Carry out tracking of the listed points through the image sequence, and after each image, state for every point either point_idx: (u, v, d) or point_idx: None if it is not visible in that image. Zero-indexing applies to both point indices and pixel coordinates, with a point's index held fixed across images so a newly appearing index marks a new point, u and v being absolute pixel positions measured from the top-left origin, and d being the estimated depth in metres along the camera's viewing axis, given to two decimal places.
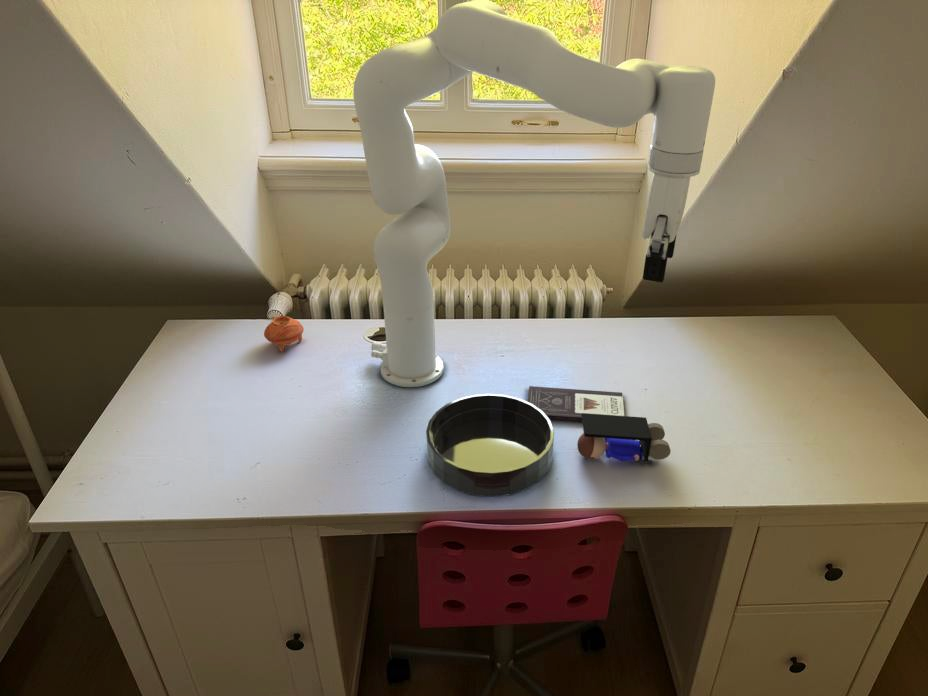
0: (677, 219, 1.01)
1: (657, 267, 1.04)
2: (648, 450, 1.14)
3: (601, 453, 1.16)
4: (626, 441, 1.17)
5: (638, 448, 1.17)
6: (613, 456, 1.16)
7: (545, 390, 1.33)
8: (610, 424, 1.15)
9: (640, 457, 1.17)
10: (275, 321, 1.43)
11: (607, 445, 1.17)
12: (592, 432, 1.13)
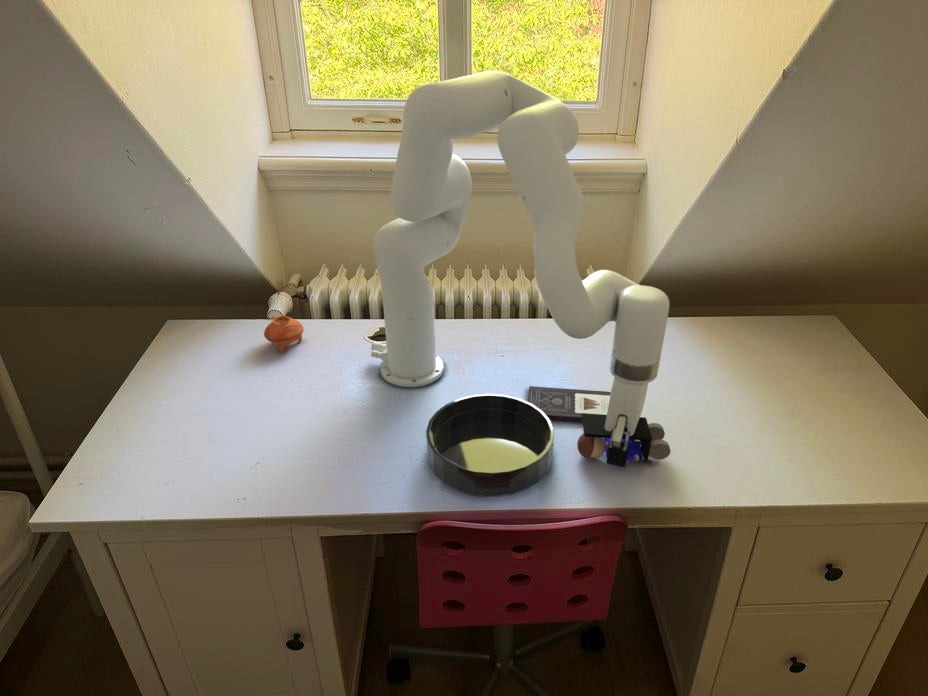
0: (636, 418, 1.09)
1: (619, 456, 1.13)
2: (648, 450, 1.14)
3: (601, 453, 1.16)
4: None
5: (638, 448, 1.17)
6: None
7: (545, 390, 1.33)
8: None
9: (640, 457, 1.17)
10: (275, 321, 1.43)
11: (607, 445, 1.17)
12: (592, 432, 1.13)
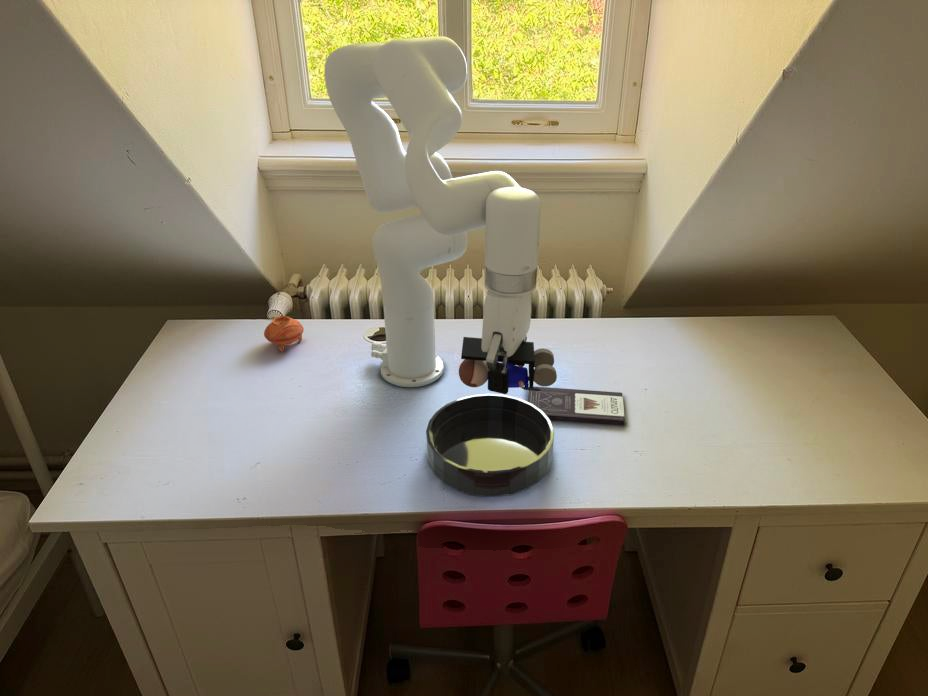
0: (513, 336, 1.00)
1: (499, 381, 1.04)
2: (532, 375, 1.05)
3: (483, 379, 1.07)
4: (511, 367, 1.08)
5: (523, 374, 1.08)
6: None
7: (545, 390, 1.33)
8: None
9: (526, 384, 1.08)
10: (275, 321, 1.43)
11: None
12: (470, 354, 1.04)
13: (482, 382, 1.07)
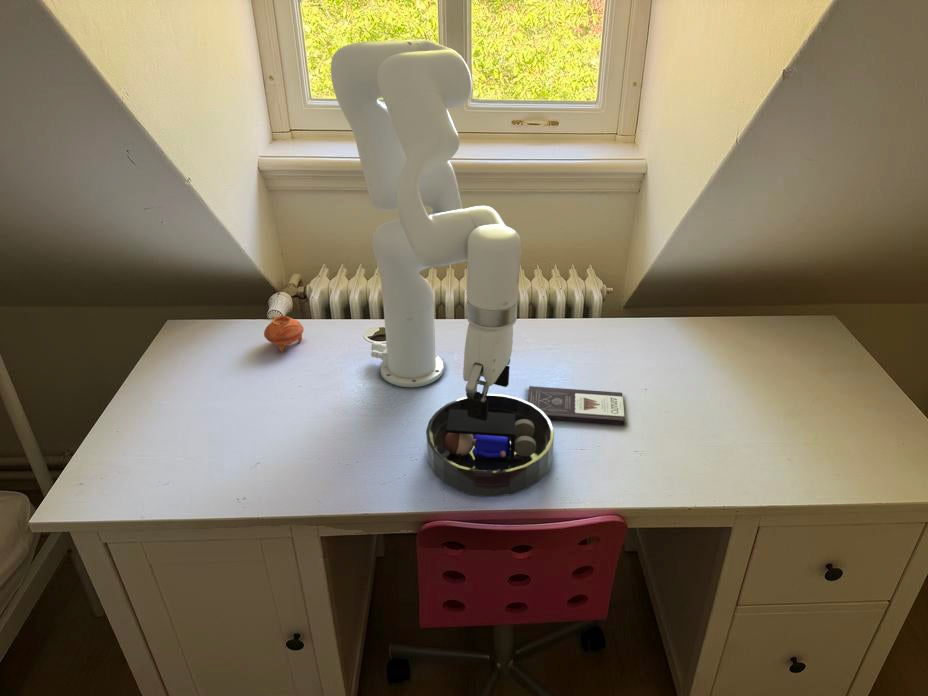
0: (493, 367, 1.03)
1: (478, 408, 1.06)
2: (513, 446, 1.13)
3: (467, 449, 1.15)
4: (494, 437, 1.16)
5: (505, 444, 1.15)
6: (479, 452, 1.14)
7: (545, 390, 1.33)
8: (476, 420, 1.14)
9: (508, 454, 1.16)
10: (275, 321, 1.43)
11: (475, 441, 1.16)
12: (454, 428, 1.12)
13: (467, 452, 1.15)
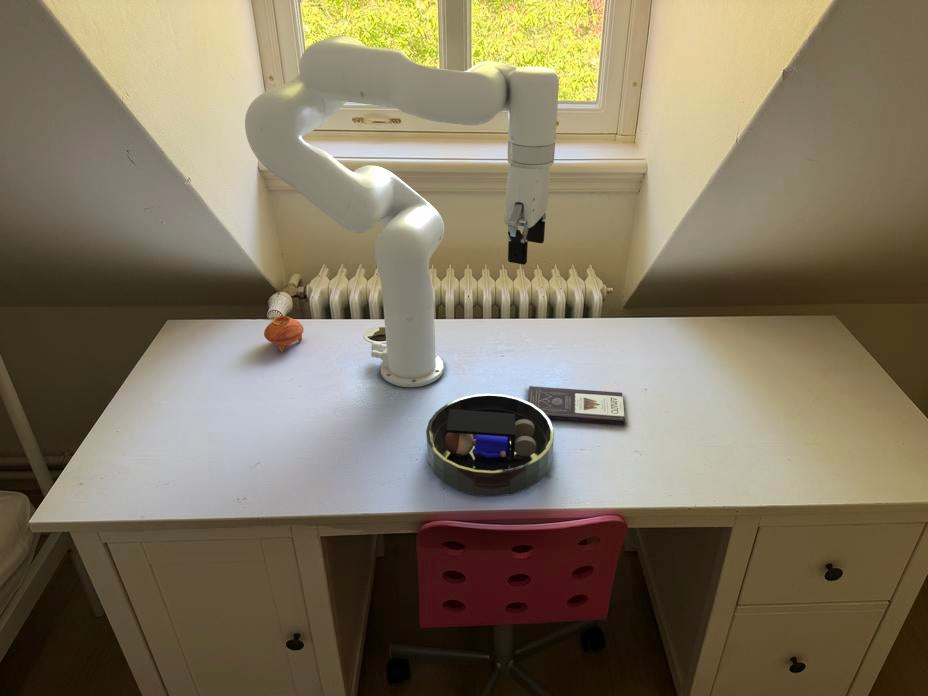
0: (533, 206, 1.11)
1: (518, 250, 1.14)
2: (513, 446, 1.13)
3: (467, 449, 1.15)
4: (494, 437, 1.16)
5: (505, 444, 1.15)
6: (479, 452, 1.14)
7: (545, 390, 1.33)
8: (476, 420, 1.14)
9: (508, 454, 1.16)
10: (275, 321, 1.43)
11: (475, 441, 1.16)
12: (454, 428, 1.12)
13: (467, 452, 1.15)
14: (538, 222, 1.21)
